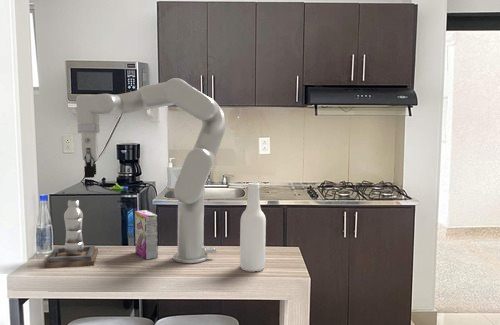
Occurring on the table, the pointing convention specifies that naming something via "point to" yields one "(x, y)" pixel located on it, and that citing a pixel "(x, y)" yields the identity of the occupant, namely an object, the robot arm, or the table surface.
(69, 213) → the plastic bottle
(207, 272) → the table surface
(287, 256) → the table surface
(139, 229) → the candy bar box
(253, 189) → the alcohol
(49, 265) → the brown wooden tray
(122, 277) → the table surface
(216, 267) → the table surface
